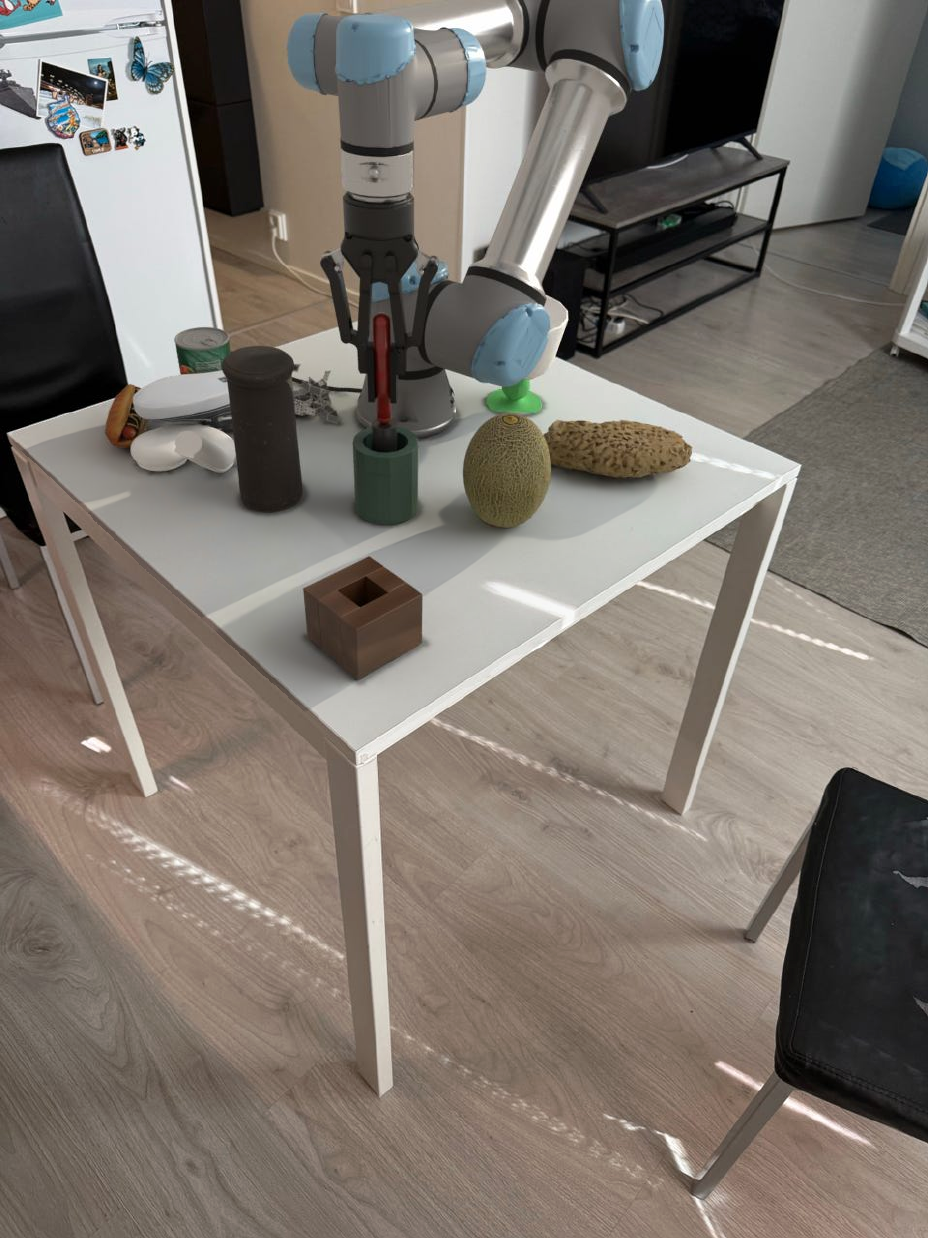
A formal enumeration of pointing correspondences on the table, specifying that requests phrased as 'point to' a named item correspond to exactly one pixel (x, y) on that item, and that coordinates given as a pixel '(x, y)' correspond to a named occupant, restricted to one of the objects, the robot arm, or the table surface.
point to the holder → (363, 616)
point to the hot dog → (124, 419)
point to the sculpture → (184, 448)
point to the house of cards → (314, 398)
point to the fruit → (507, 470)
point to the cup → (519, 394)
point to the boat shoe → (187, 400)
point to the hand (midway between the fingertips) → (383, 397)
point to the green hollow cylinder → (386, 479)
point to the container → (264, 427)
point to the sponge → (616, 448)
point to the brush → (382, 388)
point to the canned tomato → (201, 349)
